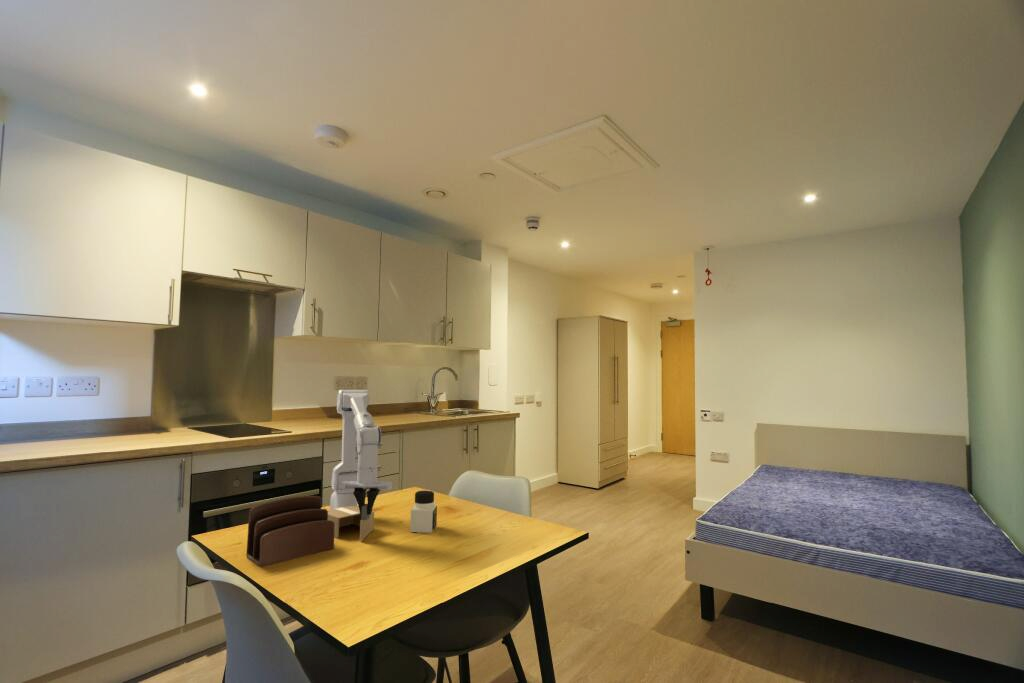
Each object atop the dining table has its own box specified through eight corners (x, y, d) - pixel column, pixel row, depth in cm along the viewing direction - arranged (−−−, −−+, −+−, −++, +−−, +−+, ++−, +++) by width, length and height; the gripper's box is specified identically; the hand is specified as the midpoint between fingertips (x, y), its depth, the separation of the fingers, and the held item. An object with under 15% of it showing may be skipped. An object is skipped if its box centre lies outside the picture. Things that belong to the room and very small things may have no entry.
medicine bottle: (432, 533, 152) (433, 493, 153) (409, 532, 152) (411, 493, 153) (436, 526, 159) (437, 489, 160) (414, 526, 160) (415, 488, 161)
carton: (319, 531, 152) (320, 511, 153) (354, 523, 161) (354, 504, 162) (337, 538, 146) (338, 517, 146) (371, 529, 155) (372, 509, 156)
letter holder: (245, 557, 130) (248, 503, 131) (318, 541, 144) (320, 492, 145) (259, 568, 123) (262, 510, 124) (334, 549, 137) (336, 498, 138)
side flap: (359, 540, 143) (360, 506, 144) (372, 529, 155) (373, 497, 156) (364, 540, 143) (365, 507, 144) (377, 529, 155) (378, 497, 156)
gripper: (338, 469, 144) (336, 516, 142) (387, 470, 143) (386, 518, 142) (347, 465, 151) (345, 510, 149) (394, 466, 150) (392, 511, 149)
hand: (365, 513), depth 146 cm, fingers closed on side flap, 2 cm apart
